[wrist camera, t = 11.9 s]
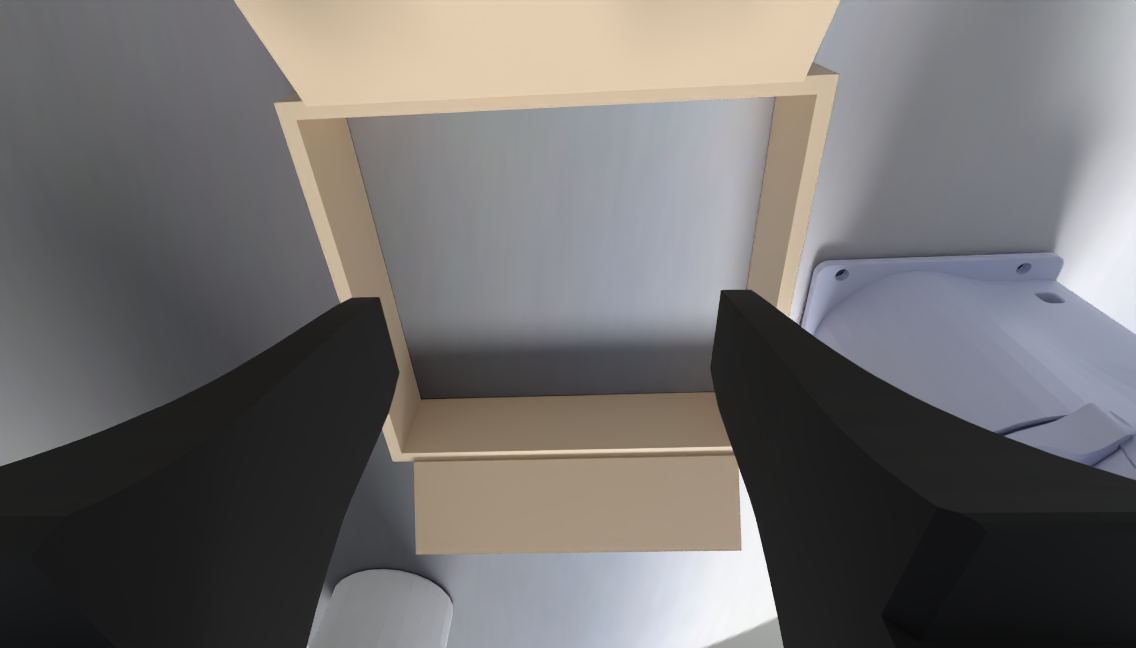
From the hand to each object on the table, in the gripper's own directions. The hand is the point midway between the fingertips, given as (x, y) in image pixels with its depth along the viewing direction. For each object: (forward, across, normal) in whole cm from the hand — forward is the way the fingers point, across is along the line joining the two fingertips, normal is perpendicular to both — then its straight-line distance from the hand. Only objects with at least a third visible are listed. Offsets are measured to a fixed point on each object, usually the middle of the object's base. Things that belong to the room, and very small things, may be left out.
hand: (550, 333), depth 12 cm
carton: (+10, 0, +4) cm, 11 cm away
